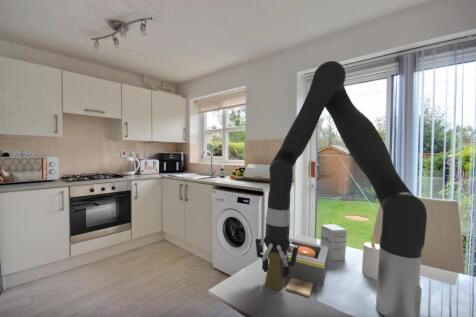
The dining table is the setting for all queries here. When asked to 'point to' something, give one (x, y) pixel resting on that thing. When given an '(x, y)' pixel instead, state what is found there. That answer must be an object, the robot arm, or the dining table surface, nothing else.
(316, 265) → the box
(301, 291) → the cork coaster
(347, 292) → the dining table surface
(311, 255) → the button
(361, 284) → the dining table surface
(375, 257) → the candle
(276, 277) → the olive brown knobbed peg
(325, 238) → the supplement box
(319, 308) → the dining table surface
